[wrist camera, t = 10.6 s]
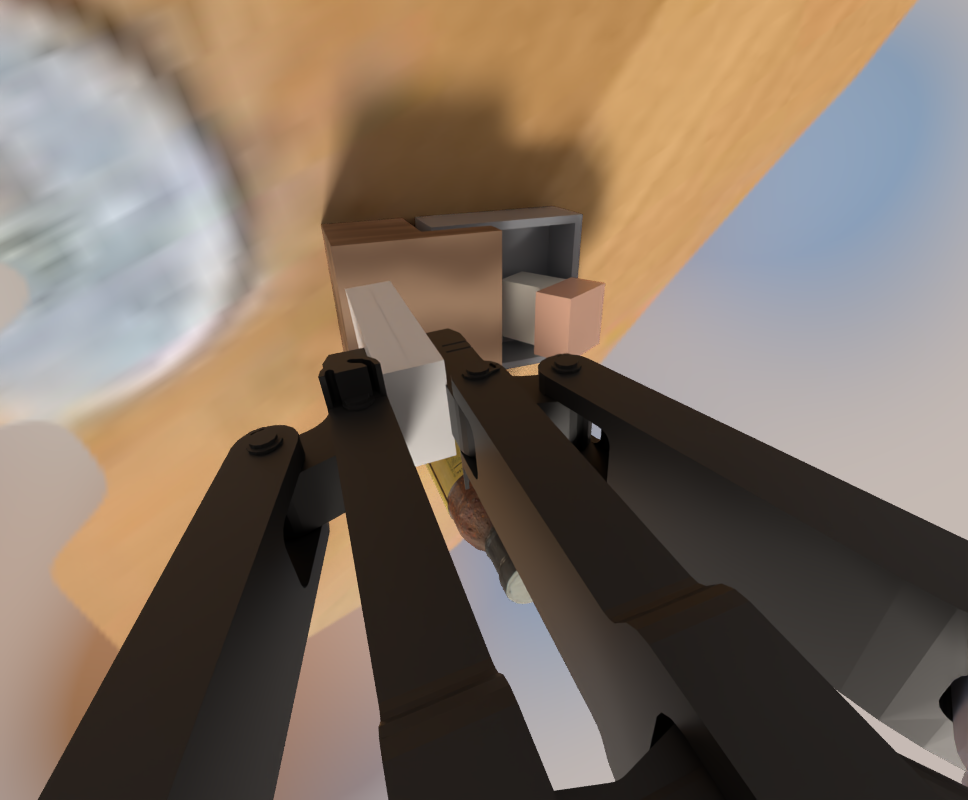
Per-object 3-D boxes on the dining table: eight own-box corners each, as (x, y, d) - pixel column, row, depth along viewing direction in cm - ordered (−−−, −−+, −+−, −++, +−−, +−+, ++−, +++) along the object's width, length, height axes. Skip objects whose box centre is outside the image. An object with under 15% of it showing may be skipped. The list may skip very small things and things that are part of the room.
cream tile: (551, 290, 37) (571, 280, 39) (500, 280, 40) (521, 271, 42) (549, 349, 40) (568, 337, 42) (502, 335, 43) (522, 325, 45)
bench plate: (320, 224, 35) (331, 246, 29) (463, 213, 39) (502, 230, 32) (350, 392, 42) (364, 440, 36) (469, 370, 45) (502, 411, 39)
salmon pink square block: (535, 291, 36) (570, 299, 34) (571, 277, 39) (605, 283, 37) (533, 354, 38) (566, 363, 36) (567, 335, 41) (599, 343, 40)
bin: (414, 216, 37) (430, 227, 33) (553, 205, 41) (582, 214, 37) (426, 358, 43) (441, 381, 39) (546, 337, 47) (571, 356, 43)
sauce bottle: (469, 459, 51) (561, 615, 34) (411, 461, 48) (480, 631, 32) (482, 403, 48) (587, 545, 32) (421, 402, 45) (502, 556, 29)
